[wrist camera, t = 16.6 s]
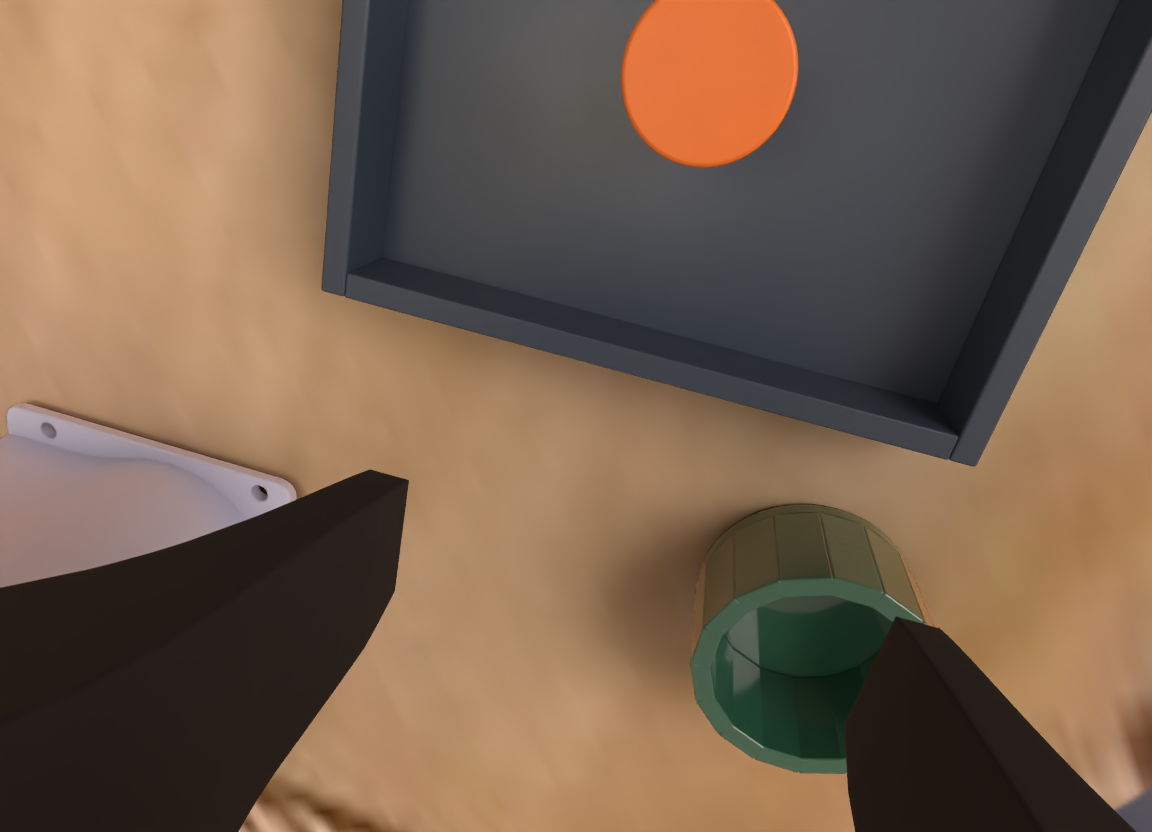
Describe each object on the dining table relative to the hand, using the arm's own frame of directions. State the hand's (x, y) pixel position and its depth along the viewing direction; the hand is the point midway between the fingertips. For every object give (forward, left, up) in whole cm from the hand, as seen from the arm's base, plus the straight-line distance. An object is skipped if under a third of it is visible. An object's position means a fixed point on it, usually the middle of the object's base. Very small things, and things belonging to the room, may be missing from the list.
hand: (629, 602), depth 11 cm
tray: (-1, +7, -9) cm, 12 cm away
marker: (-1, +7, -9) cm, 11 cm away
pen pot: (+5, -5, -9) cm, 12 cm away
